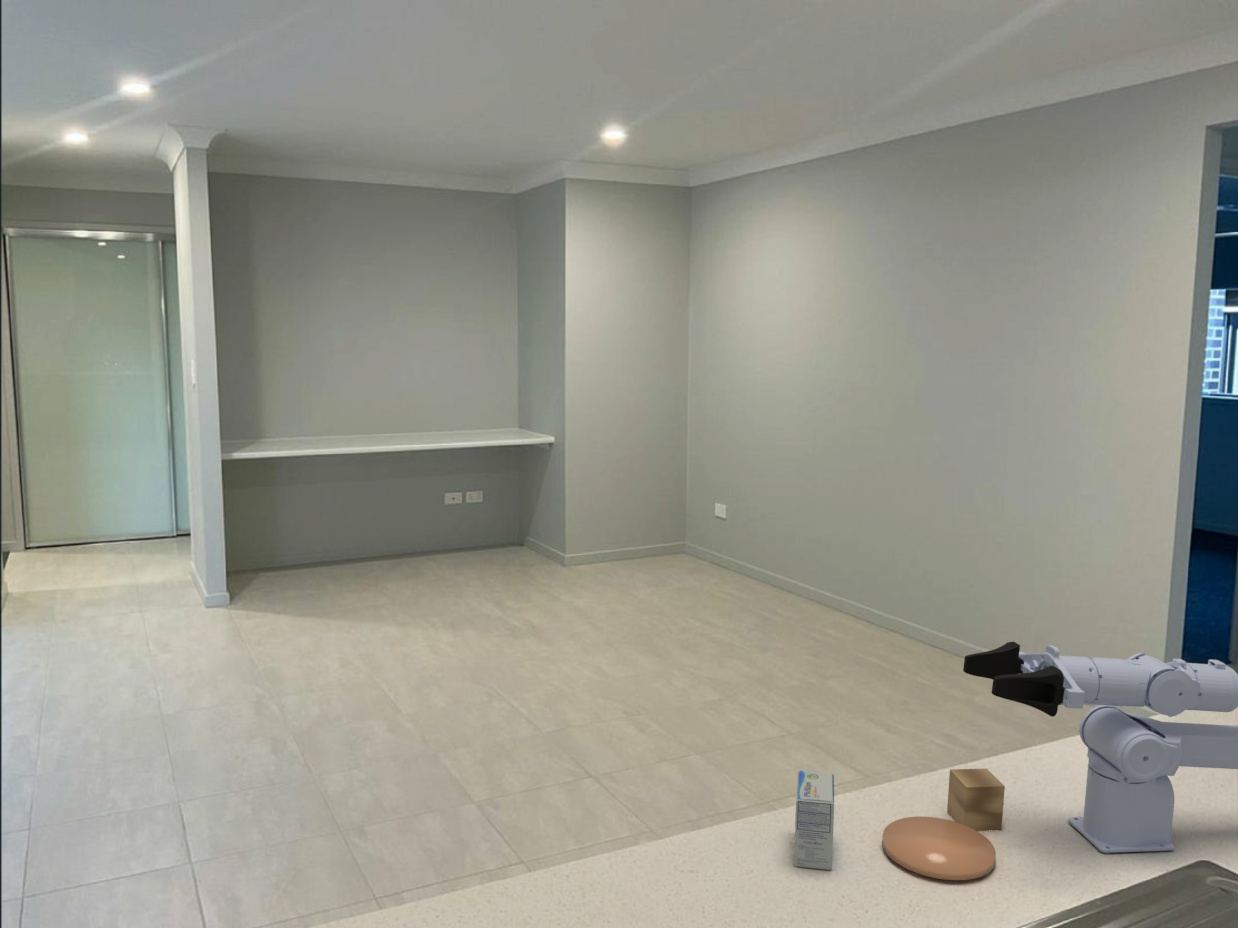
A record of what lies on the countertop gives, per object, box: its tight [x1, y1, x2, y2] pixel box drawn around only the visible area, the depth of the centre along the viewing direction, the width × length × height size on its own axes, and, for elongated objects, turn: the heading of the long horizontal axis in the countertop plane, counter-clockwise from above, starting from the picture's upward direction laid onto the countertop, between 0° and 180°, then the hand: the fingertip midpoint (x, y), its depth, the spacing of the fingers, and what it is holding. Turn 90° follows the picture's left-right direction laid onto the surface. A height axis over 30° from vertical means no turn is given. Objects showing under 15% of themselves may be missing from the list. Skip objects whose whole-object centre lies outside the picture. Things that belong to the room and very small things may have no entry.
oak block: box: [946, 767, 1006, 832], centre depth 128 cm, size 5×5×6 cm
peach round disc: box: [881, 816, 997, 881], centre depth 120 cm, size 13×13×1 cm
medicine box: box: [794, 770, 835, 871], centre depth 120 cm, size 8×4×9 cm, turn 168°
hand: (978, 674), depth 120 cm, fingers open, 7 cm apart
